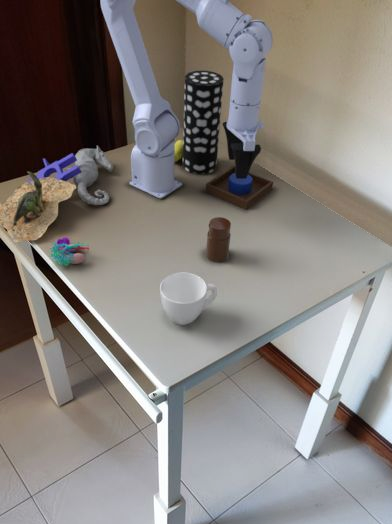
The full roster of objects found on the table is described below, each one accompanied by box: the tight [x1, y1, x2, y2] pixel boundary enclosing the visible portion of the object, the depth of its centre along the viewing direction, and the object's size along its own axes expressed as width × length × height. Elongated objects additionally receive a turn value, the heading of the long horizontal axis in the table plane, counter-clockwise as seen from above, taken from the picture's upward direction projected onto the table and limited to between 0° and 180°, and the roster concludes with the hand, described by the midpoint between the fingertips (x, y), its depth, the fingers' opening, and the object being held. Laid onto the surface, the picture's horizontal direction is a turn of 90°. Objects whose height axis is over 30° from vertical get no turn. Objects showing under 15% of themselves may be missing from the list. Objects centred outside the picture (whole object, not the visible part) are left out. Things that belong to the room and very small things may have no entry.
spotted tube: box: [182, 69, 225, 175], centre depth 114 cm, size 8×8×20 cm
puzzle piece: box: [26, 152, 81, 182], centre depth 108 cm, size 10×12×2 cm
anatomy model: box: [49, 237, 90, 267], centre depth 93 cm, size 5×8×7 cm
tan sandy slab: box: [0, 171, 77, 243], centre depth 100 cm, size 18×14×8 cm
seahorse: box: [64, 145, 114, 206], centre depth 112 cm, size 5×12×20 cm
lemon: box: [174, 139, 183, 163], centre depth 122 cm, size 4×8×4 cm
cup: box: [159, 271, 218, 326], centre depth 84 cm, size 8×10×7 cm
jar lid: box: [228, 173, 252, 195], centre depth 113 cm, size 5×5×3 cm
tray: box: [205, 165, 274, 210], centre depth 114 cm, size 11×11×2 cm
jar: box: [205, 216, 232, 263], centre depth 95 cm, size 4×4×7 cm
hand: (237, 168), depth 102 cm, fingers open, 7 cm apart
